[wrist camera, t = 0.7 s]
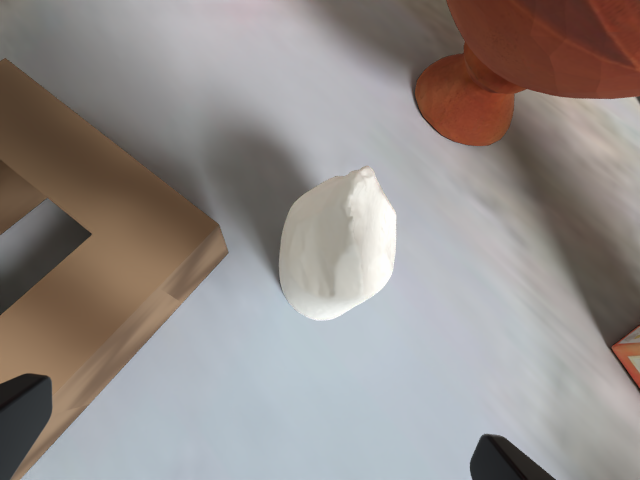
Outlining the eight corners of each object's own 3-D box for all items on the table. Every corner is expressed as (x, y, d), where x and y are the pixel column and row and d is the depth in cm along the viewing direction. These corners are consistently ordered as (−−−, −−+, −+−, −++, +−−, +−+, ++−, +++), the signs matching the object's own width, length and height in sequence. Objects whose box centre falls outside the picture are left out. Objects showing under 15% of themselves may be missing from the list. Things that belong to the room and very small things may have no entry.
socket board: (20, 479, 17) (-77, 528, 12) (-188, 291, 18) (-351, 268, 13) (228, 252, 22) (218, 224, 17) (58, 118, 23) (5, 57, 18)
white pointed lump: (461, 292, 10) (280, 275, 10) (359, 324, 22) (271, 318, 21) (448, 130, 12) (296, 106, 12) (360, 236, 24) (280, 228, 23)
